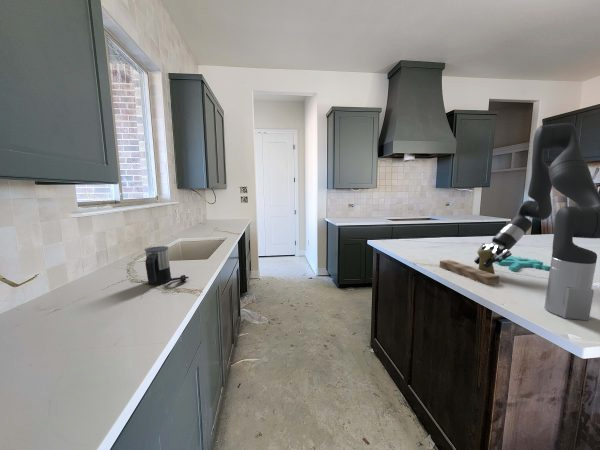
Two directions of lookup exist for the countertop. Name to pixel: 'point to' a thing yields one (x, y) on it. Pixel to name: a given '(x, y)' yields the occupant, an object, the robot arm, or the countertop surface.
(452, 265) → the walnut plank
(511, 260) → the turquoise toy gun
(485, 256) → the cork
